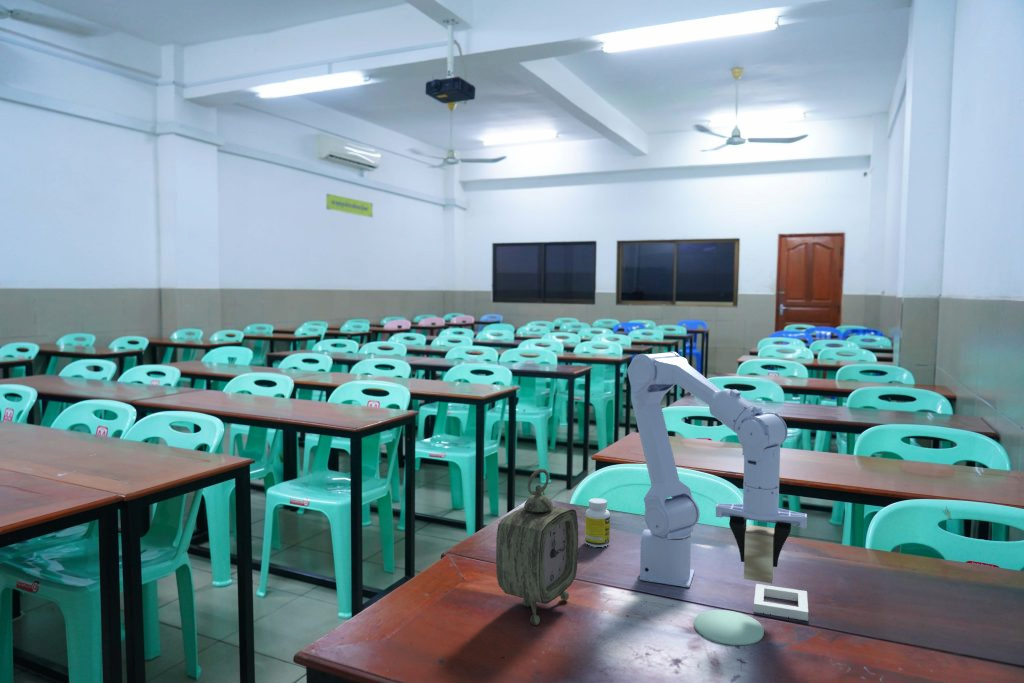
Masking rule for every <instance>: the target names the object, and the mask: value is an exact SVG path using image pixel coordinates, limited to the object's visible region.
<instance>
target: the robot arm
mask: <svg viewBox="0 0 1024 683" xmlns="http://www.w3.org/2000/svg"><path fill="white" fill-rule="evenodd" d="M626 371H627V375H628V380H629V385H630V392H631V393H630V398H631V399H630V400H631V406H632V409H633V413H634V417H635V421H636V425H637V429H638V433H639V437H640V439H639V440H640V443H641V447H642V452H643V454H644V459H645V463H646V468H647V471H648V472H647V473H648V477H649V481H650V487H649V489H648V491H647V492H646V494H645V495H644V496H643V501H644V509H645V510H644V521H645V524H646V526H647V529H643V531H642V533H641V539H640V552H639V554H640V566H639V567H640V570H639V572H640V573H639V574H640V576H639V580H641V581H645V582H650V583H656V584H657V583H658V584H665V585H669V586H675V587H682V588H690V586H691V584H692V581H693V578H694V575H695V569H692V568H691V553H692V552H691V550H692V549H691V548H692V547H691V546H692V543H691V541H692V540H691V539H692V533H693V532H694V526H696V525H697V524H698V523H699V521H700V514H701V513H700V509H699V505H698V504H697V502H696V500H695V499H694V497H693V495H692V492H691V488H690V487H689V486H687V485H686V484H685V483H684V482H682V481H681V480H680V476H679V473H678V470H677V465H676V461H675V458H674V452H673V448H672V445H671V441H670V437H669V434H668V433H669V432H668V429H667V428H668V427H667V425H666V421H665V416H664V413H663V408H662V404H661V402H662V400H663V399H664V397H665V395H666V394H667V393H668V392H669V391H670V390H671V389H672V388H673V387H675V385H676V386H678V387H680V388H681V389H683V390H685V391H687V393H689V394H691V395H693V396H694V397H696V398H697V399H699V400H700V401H701V402H703V403H705V404H707V405H708V407H709V408H708V409H709V413H710V415H711V416H712V417H713V418H715V419H716V420H718V421H719V422H721V423H722V425H724V426H726V427H727V428H728V429H730V430H731V431H732V432H734V433H735V434H736V435H737V436H736V437H737V439H738V440H737V441H738V442H739V444H740V445H741V448H742V456H743V487H742V489H743V490H742V503H720V502H717V504H716V505H715V517H716V518H723V517H725V518H729V522H728V523H729V524H728V525H729V528H730V530H731V532H732V534H733V537H734V538H735V539H734V540H735V541H736V544H737V548H738V551H739V556H740V563H744V552H745V531H746V528H747V520H749V521H756V522H763V523H771V524H775V525H774V527H773V528H774V555H773V567H774V568H778V564H779V557H780V554H781V551H782V550H783V548H784V545H785V543H786V541H787V539H788V537H789V536H790V534H791V530H792V526H795V527H799V528H800V529H807V524H808V523H807V521H808V520H807V519H808V514H807V513H803V512H797V511H793V510H788V509H784V508H780V507H779V506H780V505H779V503H780V499H779V498H780V469H781V468H780V467H781V466H780V465H781V464H780V463H781V445H783V443H784V442H785V441H786V439H787V438H788V427H787V426H788V425H787V424H786V421H785V420H784V419H783V417H781V415H779V414H778V413H777V412H773V411H767V412H764V411H763V408H762V407H761V406H759V405H754V404H753V403H751V402H750V401H748V400H747V399H746V398H744V397H743V396H741V394H742V393H741V392H740V391H739V390H737V389H730V388H725V389H720V388H719V387H718V386H716V385H715V384H714V383H712V382H711V381H710V380H709V379H708V378H706V377H705V376H704V375H703V374H702V373H701V372H699V371H698V370H696V369H695V368H694V367H693V366H691V365H690V364H689V362H688V359H687V358H685V357H683V356H681V355H680V354H679V353H677V352H676V351H667V352H661V353H648V354H647V353H646V354H645V353H640V354H636V355H635V356H634V357H633V358H632V360H631V362H630V364H629V365H628V368H627V370H626Z"/></svg>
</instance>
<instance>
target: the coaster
mask: <svg viewBox="0 0 1024 683" xmlns="http://www.w3.org/2000/svg"><path fill="white" fill-rule="evenodd" d="M693 625H694V628H695V630H696V632H698V633H699V634H700V635H701V636H702V637H704V638H706V639H708V640H710V641H713V642H716V643H719V644H722V645H723V644H724V645H728V646H729V645H730V646H749V645H753V644H756V643H759V642H760V641H761V640H762V639H763V637H764V633H765V632H764V626H763V625H762V624H761V623H760V621H758V620H757V619H755V618H754V617H751V616H750V615H746V614H744V613H742V612H738V611H733V610H727V609H712V610H706V611H702V612H700V613H699V614H697V615H696V616H695V617H694V620H693Z"/></svg>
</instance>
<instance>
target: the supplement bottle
mask: <svg viewBox="0 0 1024 683" xmlns="http://www.w3.org/2000/svg"><path fill="white" fill-rule="evenodd" d="M588 507H589V508H588V509H586V511H585V521H584V522H585V526H584V530H585V531H584V532H585V534H584V535H585V536H584V542H585V544H586V545H587V544H588V545H591V546H594V547H593V548H596V547H602V546H606V547H608V546H609V545H610V541H611V540H610V539H611V538H610V537H611V536H610V534H611V530H610V528H611V520H610V519H611V513H610V511H609V510H608V500H607V499H605V498H599V497H596V498H590V499H589V500H588ZM608 544H609V545H608ZM588 545H587V546H588ZM607 545H608V546H607ZM591 546H590V547H591ZM602 548H603V547H602Z"/></svg>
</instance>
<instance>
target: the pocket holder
mask: <svg viewBox="0 0 1024 683" xmlns="http://www.w3.org/2000/svg"><path fill="white" fill-rule="evenodd" d="M765 597H766V598H773V599H774V598H775V599H778V600H779V599H781V600H787V601H794V602H797V606H795V605H788V604H782V603H776V602H769V601H765ZM753 612H754V613H758V614H763V613H764V614H765V615H770V614H771V616H777V617H782V618H788V617H789V619H794V620H795V619H796V620H800V621H807V622H808V621H809V602H808V591H807V590H800V589H795V588H788V587H782V586H781V587H780V586H773V585H768V584H761V583H755V591H754V599H753ZM764 614H763V615H764Z"/></svg>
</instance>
